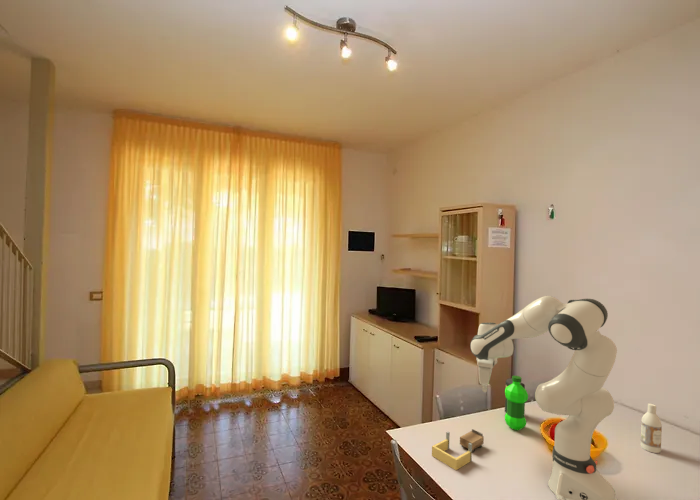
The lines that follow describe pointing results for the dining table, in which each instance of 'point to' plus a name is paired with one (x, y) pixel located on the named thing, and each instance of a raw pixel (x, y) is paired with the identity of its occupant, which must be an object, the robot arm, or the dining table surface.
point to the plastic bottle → (515, 404)
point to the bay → (447, 458)
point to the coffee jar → (508, 382)
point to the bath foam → (651, 430)
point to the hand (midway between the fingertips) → (485, 387)
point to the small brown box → (472, 439)
